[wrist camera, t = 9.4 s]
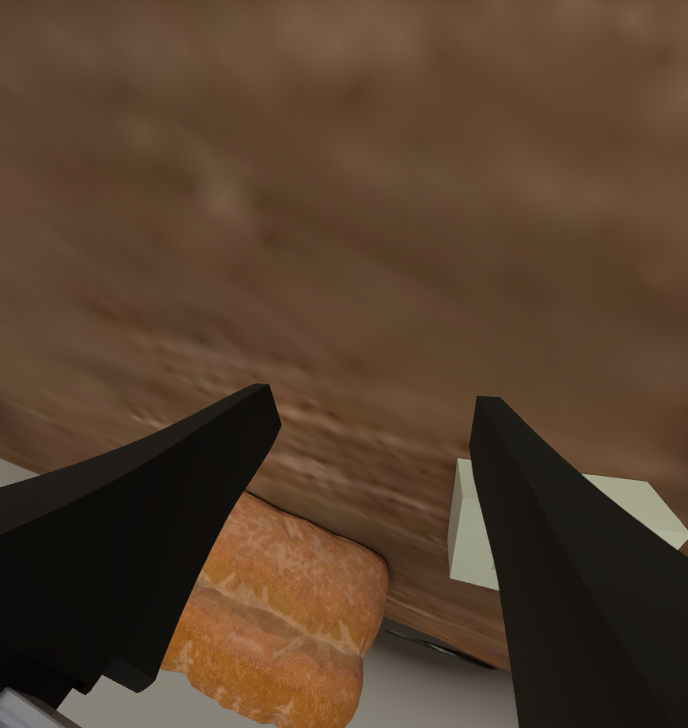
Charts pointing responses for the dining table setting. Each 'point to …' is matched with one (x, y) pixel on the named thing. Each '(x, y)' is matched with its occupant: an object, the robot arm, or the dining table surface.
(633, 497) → the socket block
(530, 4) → the dining table surface
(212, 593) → the bread
